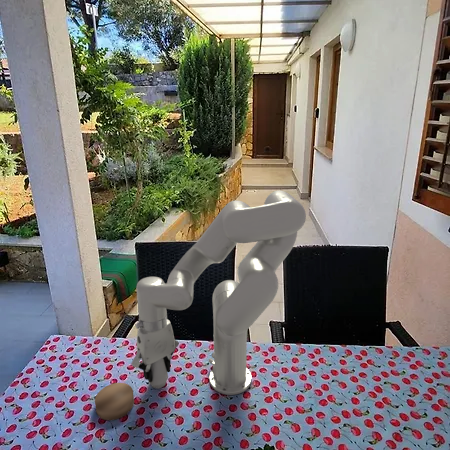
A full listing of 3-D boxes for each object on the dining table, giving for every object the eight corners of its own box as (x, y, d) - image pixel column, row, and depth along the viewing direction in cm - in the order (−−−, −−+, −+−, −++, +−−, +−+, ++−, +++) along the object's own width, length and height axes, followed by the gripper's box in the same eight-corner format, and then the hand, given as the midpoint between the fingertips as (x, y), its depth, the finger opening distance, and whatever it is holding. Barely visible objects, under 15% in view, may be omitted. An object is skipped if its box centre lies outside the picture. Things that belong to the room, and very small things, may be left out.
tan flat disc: (90, 403, 94) (89, 395, 93) (124, 385, 100) (123, 377, 100) (105, 427, 87) (103, 417, 86) (140, 406, 93) (139, 397, 92)
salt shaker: (164, 392, 98) (161, 354, 94) (145, 389, 99) (141, 351, 95) (171, 378, 103) (168, 341, 99) (153, 375, 104) (150, 339, 101)
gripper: (131, 339, 87) (137, 397, 92) (186, 314, 98) (189, 367, 103) (118, 326, 92) (124, 381, 97) (172, 304, 103) (175, 355, 108)
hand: (157, 374), depth 100 cm, fingers open, 5 cm apart
